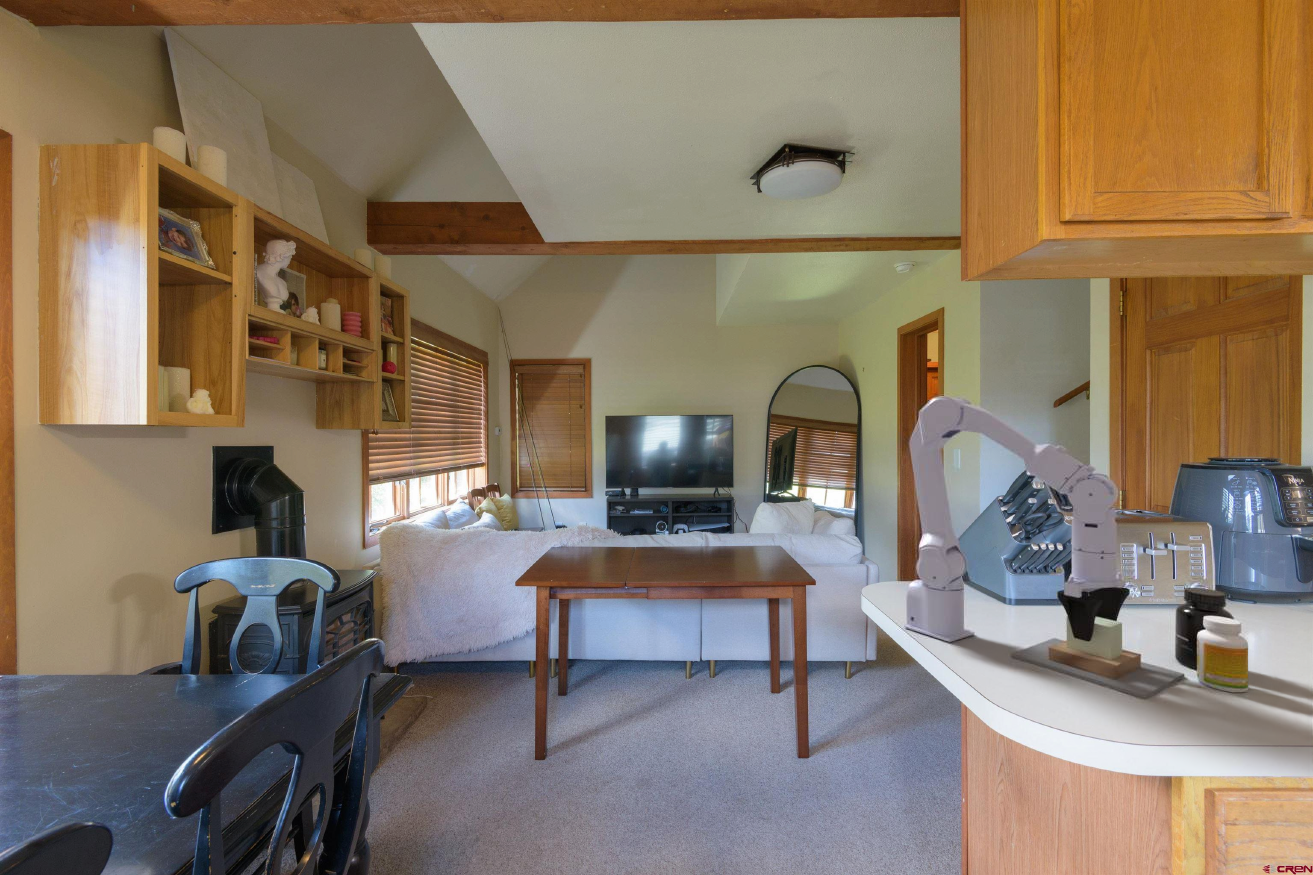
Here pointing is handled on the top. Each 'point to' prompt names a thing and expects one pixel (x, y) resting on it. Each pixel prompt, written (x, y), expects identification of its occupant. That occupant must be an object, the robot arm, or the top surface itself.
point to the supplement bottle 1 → (1195, 621)
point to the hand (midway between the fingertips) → (1093, 634)
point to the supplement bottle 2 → (1222, 655)
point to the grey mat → (1133, 683)
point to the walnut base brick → (1096, 661)
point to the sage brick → (1099, 639)
